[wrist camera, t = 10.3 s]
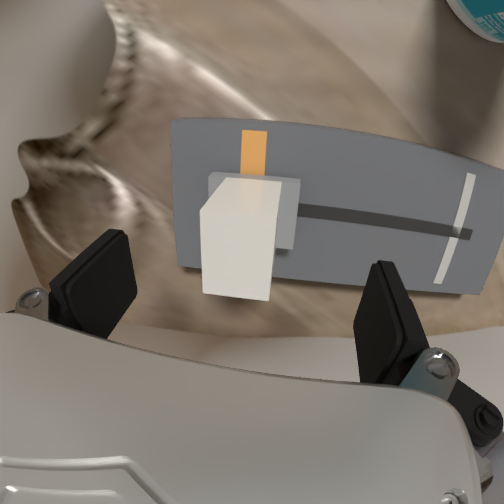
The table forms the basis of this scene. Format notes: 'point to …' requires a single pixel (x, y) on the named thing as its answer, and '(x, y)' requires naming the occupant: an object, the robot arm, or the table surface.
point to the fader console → (350, 201)
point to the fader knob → (245, 231)
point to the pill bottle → (481, 17)
